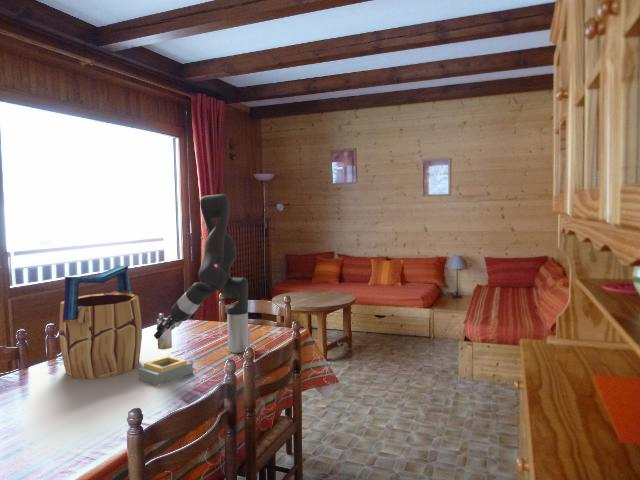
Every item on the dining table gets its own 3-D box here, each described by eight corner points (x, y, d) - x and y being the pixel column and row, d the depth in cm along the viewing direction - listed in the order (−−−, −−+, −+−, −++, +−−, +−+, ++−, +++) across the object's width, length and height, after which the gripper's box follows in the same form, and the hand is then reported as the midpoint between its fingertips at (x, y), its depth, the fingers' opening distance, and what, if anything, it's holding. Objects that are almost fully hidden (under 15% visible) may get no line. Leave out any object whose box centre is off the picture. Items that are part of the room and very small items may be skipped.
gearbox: (182, 364, 194) (181, 351, 194) (200, 370, 187) (200, 356, 187) (138, 378, 178) (137, 364, 178) (157, 385, 171) (156, 370, 171)
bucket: (97, 352, 213) (93, 265, 211) (161, 354, 209) (157, 265, 206) (33, 383, 175) (27, 277, 172) (109, 387, 170) (104, 278, 168)
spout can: (166, 344, 184) (165, 311, 183) (174, 347, 181) (173, 312, 180) (155, 348, 180) (153, 313, 179) (163, 350, 177) (161, 315, 176)
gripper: (190, 295, 184) (165, 323, 188) (168, 302, 170) (142, 332, 174) (202, 309, 183) (177, 337, 187) (181, 317, 169) (154, 347, 173)
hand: (160, 335), depth 181 cm, fingers closed on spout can, 5 cm apart
